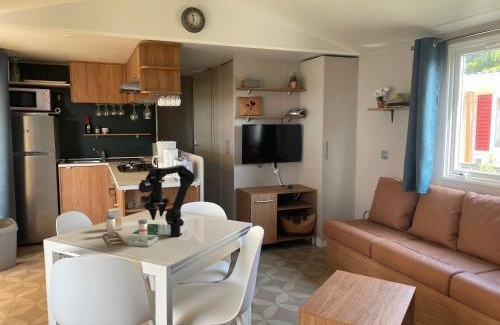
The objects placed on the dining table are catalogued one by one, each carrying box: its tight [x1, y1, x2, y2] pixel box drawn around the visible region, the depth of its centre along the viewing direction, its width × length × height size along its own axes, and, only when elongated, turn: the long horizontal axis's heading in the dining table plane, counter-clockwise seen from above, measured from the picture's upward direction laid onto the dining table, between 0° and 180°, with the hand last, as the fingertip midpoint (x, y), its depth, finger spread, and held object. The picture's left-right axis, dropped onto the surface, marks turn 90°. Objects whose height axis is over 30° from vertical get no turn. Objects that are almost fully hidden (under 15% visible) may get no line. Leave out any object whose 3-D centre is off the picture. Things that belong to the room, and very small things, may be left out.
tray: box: [127, 235, 159, 248], centre depth 210 cm, size 12×12×2 cm
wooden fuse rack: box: [102, 231, 129, 247], centre depth 217 cm, size 24×11×1 cm, turn 29°
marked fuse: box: [137, 219, 148, 243], centre depth 210 cm, size 5×5×12 cm
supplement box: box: [105, 207, 123, 231], centre depth 237 cm, size 8×5×13 cm, turn 135°
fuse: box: [106, 215, 117, 237], centre depth 223 cm, size 5×5×12 cm
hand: (157, 218), depth 213 cm, fingers open, 9 cm apart
